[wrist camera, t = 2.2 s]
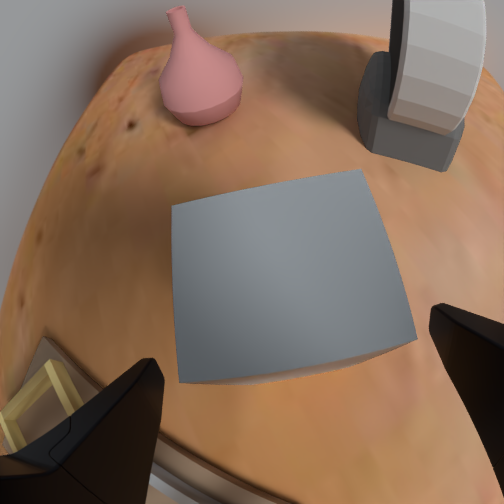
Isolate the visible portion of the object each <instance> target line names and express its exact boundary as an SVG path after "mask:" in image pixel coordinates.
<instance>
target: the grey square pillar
mask: <svg viewBox="0 0 504 504" xmlns="http://www.w3.org/2000/svg"><path fill="white" fill-rule="evenodd" d="M172 281H173V305H174V323H175V338H176V351H177V363H178V374H179V383H190V384H216V385H260V384H267V383H274V382H280V381H286V380H292V379H298V378H303V377H309V376H314V375H319V374H324V373H329V372H333V371H338V370H342V369H345V368H348V367H351V366H353V365H356V364H359V363H361V362H364V361H367V360H369V359H372V358H374V357H377V356H379V355H382V354H384V353H387V352H389V351H392V350H394V349H396V348H399V347H401V346H403V345H406V344H408V343H410V342H412V341H415V340H417V334H416V330H415V326H414V322H413V318H412V314H411V310H410V306H409V303H408V299H407V295H406V292H405V288H404V285H403V282H402V278H401V275H400V272H399V269H398V265H397V262H396V259H395V256H394V253H393V250H392V247H391V244H390V241H389V238H388V236H387V233H386V230H385V227H384V225H383V222H382V219H381V216H380V214H379V211H378V209H377V206H376V204H375V201H374V198H373V196H372V194H371V191H370V189H369V186H368V184H367V181H366V179H365V177H364V174H363V172H362V170H361V169H358V170H351V171H344V172H338V173H332V174H325V175H319V176H313V177H307V178H302V179H296V180H290V181H285V182H280V183H274V184H269V185H264V186H259V187H254V188H249V189H244V190H239V191H234V192H230V193H225V194H220V195H216V196H211V197H207V198H202V199H198V200H194V201H190V202H185V203H181V204H177V205H173V206H172Z"/></svg>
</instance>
